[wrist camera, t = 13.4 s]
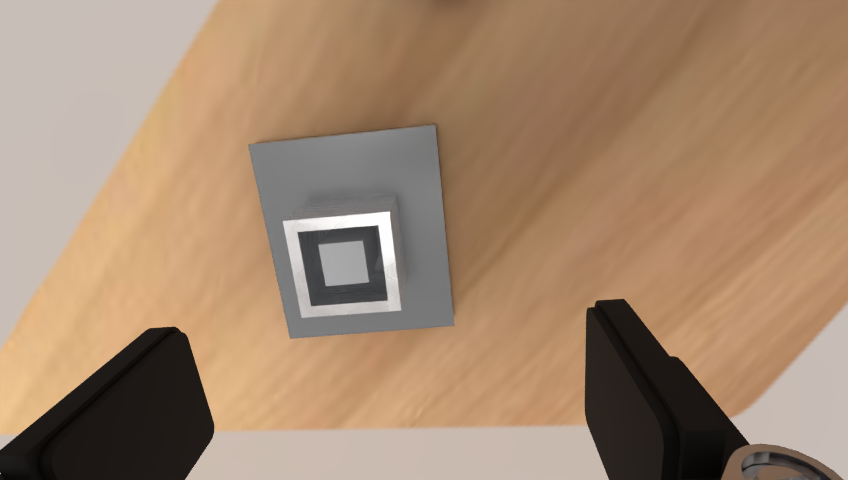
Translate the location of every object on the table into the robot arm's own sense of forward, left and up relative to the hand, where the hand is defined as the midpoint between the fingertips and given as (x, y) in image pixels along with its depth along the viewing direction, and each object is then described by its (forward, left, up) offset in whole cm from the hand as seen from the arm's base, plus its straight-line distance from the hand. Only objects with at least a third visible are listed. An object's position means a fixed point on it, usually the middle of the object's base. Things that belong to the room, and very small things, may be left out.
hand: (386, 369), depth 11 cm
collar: (+5, +3, -20) cm, 21 cm away
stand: (+5, +3, -22) cm, 22 cm away
